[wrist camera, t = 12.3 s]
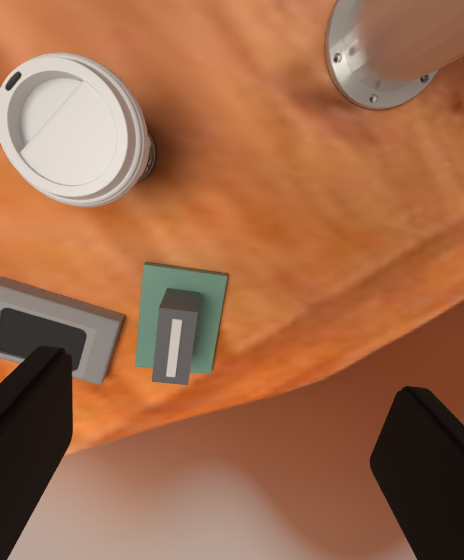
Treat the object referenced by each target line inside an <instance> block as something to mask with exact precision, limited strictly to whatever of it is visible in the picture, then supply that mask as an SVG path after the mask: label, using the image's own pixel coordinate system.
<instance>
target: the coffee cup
mask: <svg viewBox="0 0 464 560" xmlns="http://www.w3.org/2000/svg"><path fill="white" fill-rule="evenodd" d="M0 143H1V145H2V148H3V150H4V152H5V154H6V155H7V157H8V159H9V160H10V162H11V163H12V164H13V166H14V167H15V168H16V170H17V171H18V172H19V173H20V174H21V176H22V177H23V178H24V179H25V180H26V181H27V182H28V183H29V184H31V185H32V186H33V187H34V188H35V189H37V190H38V191H39V192H41V193H43V194H44V195H46V196H48V197H50V198H52V199H54V200H56V201H58V202H61V203H64V204H67V205H71V206H76V207H97V206H102V205H106V204H109V203H111V202H113V201H115V200H117V199H119V198H120V197H122V196H123V195H125V194H126V193H127V192H128V191H129V190H130V189H131V188H132V187H133V186H134V184H135V183H138V182H140V181H142V180H144V179H145V178H146V177H148V176H149V175H150V173H151V172H152V171H153V169H154V167H155V164H156V159H157V150H156V145H155V142H154V140H153V138H152V136H151V134H150V133H149V131H148V130H147V127H146V123H145V119H144V116H143V113H142V110H141V108H140V106H139V104H138V102H137V100H136V98H135V96H134V95H133V93H132V92H131V90H130V89H129V88H128V86H127V85H126V84H125V83H124V82H123V81H122V80H121V79H120V78H119V77H118V76H117V75H116V74H115V73H114V72H112V71H111V70H110V69H109V68H107V67H106V66H104V65H102V64H101V63H99V62H97V61H95V60H93V59H90V58H87V57H84V56H81V55H76V54H71V53H49V54H44V55H40V56H37V57H34V58H32V59H30V60H28V61H26V62H25V63H23V64H21V65H20V66H18V67H17V68H15V69H14V70H13V71H12V72H11V73H10V74H9V75H8V77H7V78H6V79H5V81H4V82H3V84H2V86H1V88H0Z"/></svg>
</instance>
